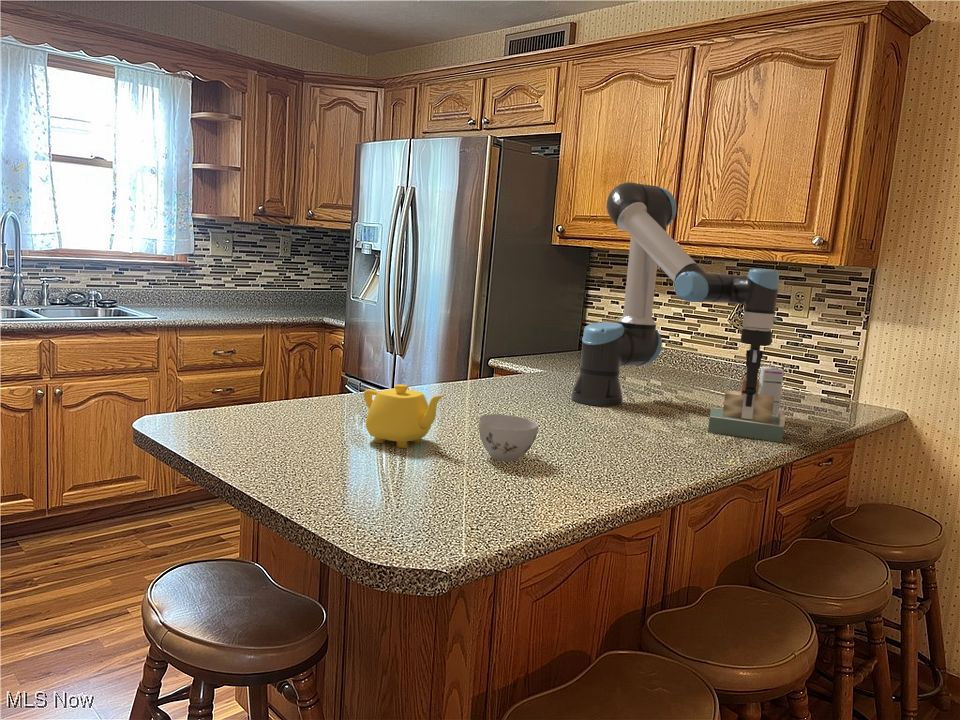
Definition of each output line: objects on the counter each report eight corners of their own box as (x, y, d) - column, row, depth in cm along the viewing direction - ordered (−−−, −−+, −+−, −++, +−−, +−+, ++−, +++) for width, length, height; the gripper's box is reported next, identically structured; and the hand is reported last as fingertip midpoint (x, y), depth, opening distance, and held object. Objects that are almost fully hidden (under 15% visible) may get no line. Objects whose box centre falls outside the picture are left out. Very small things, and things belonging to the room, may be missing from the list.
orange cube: (741, 394, 197) (743, 379, 196) (741, 392, 201) (743, 377, 200) (757, 396, 196) (759, 381, 195) (757, 394, 199) (759, 379, 199)
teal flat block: (707, 432, 196) (710, 409, 195) (709, 421, 209) (712, 400, 208) (781, 442, 190) (785, 419, 189) (779, 431, 203) (782, 409, 203)
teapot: (424, 457, 153) (428, 397, 151) (344, 439, 162) (347, 382, 160) (456, 444, 165) (460, 388, 163) (379, 428, 174) (382, 375, 172)
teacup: (518, 470, 148) (521, 431, 147) (464, 458, 154) (466, 420, 153) (550, 455, 161) (553, 419, 160) (498, 444, 167) (501, 409, 166)
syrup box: (778, 419, 220) (785, 370, 218) (757, 416, 221) (764, 368, 219) (775, 415, 225) (781, 367, 223) (754, 413, 227) (760, 365, 224)
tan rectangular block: (722, 415, 198) (725, 393, 197) (723, 411, 204) (725, 389, 203) (771, 422, 194) (774, 399, 193) (770, 418, 200) (773, 395, 199)
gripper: (774, 333, 185) (762, 424, 189) (771, 328, 204) (760, 411, 207) (742, 330, 188) (731, 420, 191) (742, 325, 206) (732, 408, 209)
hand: (746, 416), depth 199 cm, fingers open, 6 cm apart
